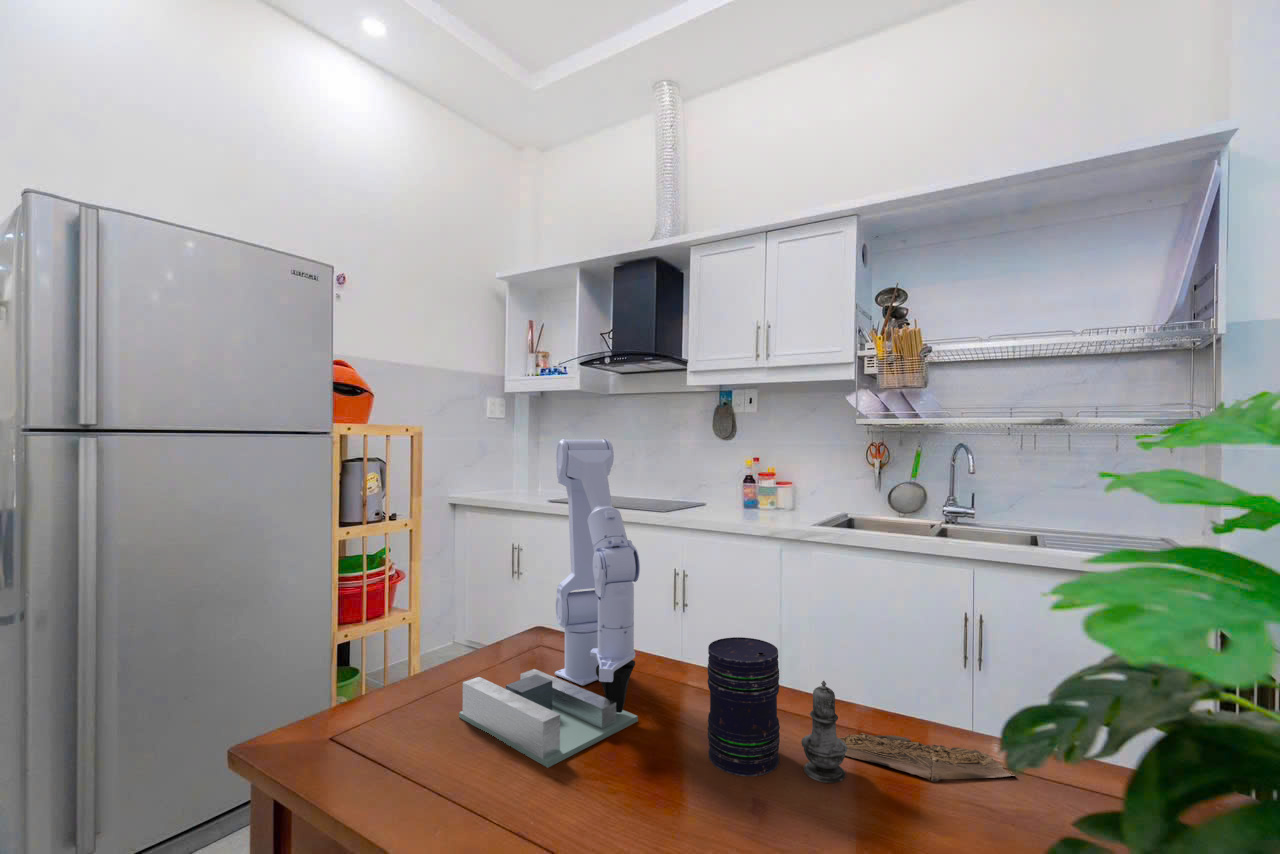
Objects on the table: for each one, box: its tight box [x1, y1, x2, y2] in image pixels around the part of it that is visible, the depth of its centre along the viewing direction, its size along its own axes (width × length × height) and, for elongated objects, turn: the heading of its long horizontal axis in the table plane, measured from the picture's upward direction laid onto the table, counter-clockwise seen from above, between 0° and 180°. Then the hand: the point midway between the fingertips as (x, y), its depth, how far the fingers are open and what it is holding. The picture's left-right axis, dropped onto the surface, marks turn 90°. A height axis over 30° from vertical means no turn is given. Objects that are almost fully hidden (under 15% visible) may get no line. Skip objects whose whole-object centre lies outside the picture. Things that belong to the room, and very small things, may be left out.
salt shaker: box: [800, 680, 848, 784], centre depth 80 cm, size 6×6×12 cm
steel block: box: [505, 674, 552, 710], centre depth 95 cm, size 6×4×5 cm, turn 138°
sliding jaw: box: [519, 668, 616, 729], centre depth 98 cm, size 3×20×3 cm, turn 48°
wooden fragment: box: [838, 732, 1018, 782], centre depth 84 cm, size 26×11×1 cm, turn 69°
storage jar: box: [707, 636, 781, 777], centre depth 84 cm, size 10×10×15 cm
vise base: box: [458, 676, 639, 769], centre depth 95 cm, size 18×22×6 cm
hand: (615, 710), depth 95 cm, fingers closed
